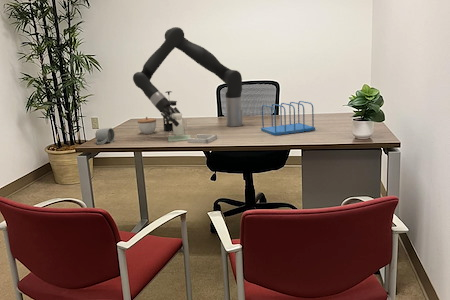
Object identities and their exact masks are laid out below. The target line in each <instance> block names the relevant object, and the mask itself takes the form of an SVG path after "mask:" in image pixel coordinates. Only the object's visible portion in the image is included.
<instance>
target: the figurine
mask: <svg viewBox="0 0 450 300" xmlns="http://www.w3.org/2000/svg"><path fill="white" fill-rule="evenodd" d="M173 117H174V119H175V120H176V121H177V122H178V123H179V125H178V126H177V127H176V126H175V125H174V124H173V123H172V122H171V123H172V125H173V131H172V135H173V136H178V135H185V128H187V119H186V118H183V114H182V112H180V113H173Z"/></svg>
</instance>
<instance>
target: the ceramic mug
mask: <svg viewBox="0 0 450 300" xmlns="http://www.w3.org/2000/svg"><path fill="white" fill-rule="evenodd" d="M115 135H116V133H115V130H114V129H113V128H112V127H107V128H106V127H105V128H100V129H99V128H98V129H97V130H96V132H95V144H96V145H98V146H101V145H104V144H105V143H113V142H114V141H115V139H116V138H115V137H116V136H115Z"/></svg>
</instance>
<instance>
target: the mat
mask: <svg viewBox="0 0 450 300" xmlns="http://www.w3.org/2000/svg"><path fill="white" fill-rule="evenodd" d="M188 138H192V137H191V134H182V135H169V136H168V137H167V139H168V140H167V142H168V143H169V142H170V143H171V142H183V141H184V142H185V141H187V142H188Z"/></svg>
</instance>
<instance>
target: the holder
mask: <svg viewBox="0 0 450 300" xmlns="http://www.w3.org/2000/svg"><path fill="white" fill-rule="evenodd" d="M217 139H218V136H217V134H202V133H197V134H196V138H194V137H191V138H188V140H187V143H193V144H194V143H195V144H209V143H211V142H213V141H216V140H217Z"/></svg>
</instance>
